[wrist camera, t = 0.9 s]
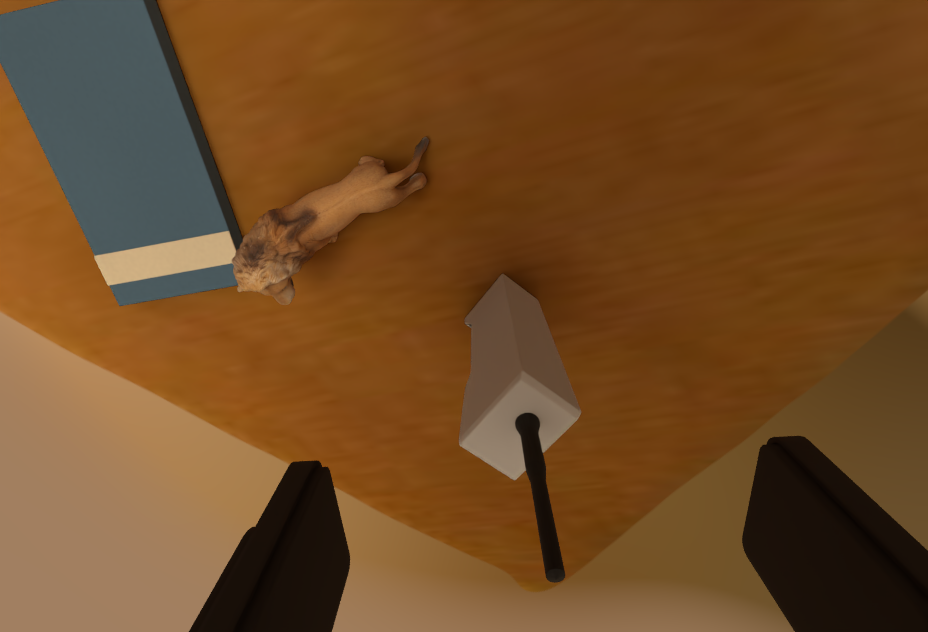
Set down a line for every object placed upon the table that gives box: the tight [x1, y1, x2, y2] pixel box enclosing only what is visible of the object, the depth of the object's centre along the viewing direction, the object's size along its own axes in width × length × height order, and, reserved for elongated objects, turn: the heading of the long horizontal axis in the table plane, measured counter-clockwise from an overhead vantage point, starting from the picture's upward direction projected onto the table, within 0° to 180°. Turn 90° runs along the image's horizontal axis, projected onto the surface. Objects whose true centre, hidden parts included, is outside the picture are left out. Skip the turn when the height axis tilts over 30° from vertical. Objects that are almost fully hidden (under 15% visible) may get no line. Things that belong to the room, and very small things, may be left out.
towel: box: [0, 0, 243, 306], centre depth 33 cm, size 20×11×2 cm, turn 10°
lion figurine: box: [232, 137, 429, 305], centre depth 30 cm, size 15×5×9 cm, turn 128°
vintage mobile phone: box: [459, 273, 581, 582], centre depth 26 cm, size 4×5×25 cm
